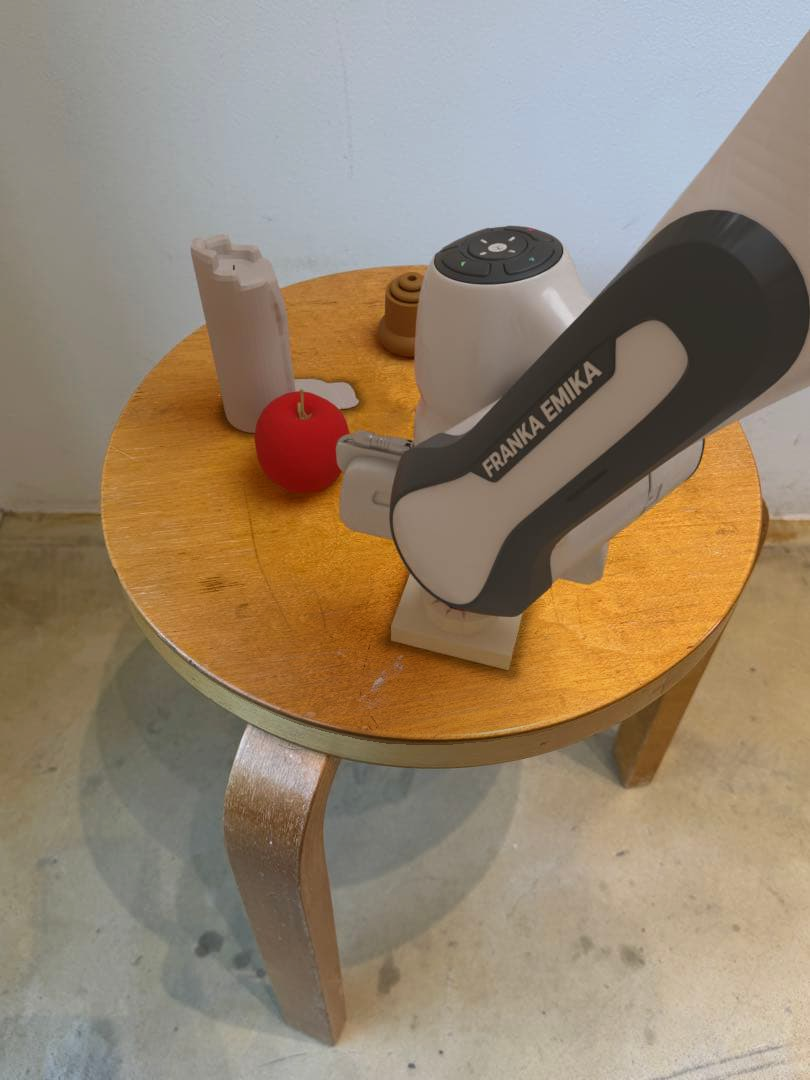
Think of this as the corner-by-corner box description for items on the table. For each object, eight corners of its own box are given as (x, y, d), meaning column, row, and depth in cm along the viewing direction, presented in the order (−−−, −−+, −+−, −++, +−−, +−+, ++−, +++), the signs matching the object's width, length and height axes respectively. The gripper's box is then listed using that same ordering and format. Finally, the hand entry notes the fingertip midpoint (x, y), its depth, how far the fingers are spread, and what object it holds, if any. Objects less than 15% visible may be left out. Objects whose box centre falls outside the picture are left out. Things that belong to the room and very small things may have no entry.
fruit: (371, 480, 82) (368, 402, 75) (293, 523, 79) (281, 446, 71) (318, 428, 87) (309, 349, 79) (241, 467, 83) (225, 388, 76)
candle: (364, 415, 88) (355, 241, 73) (230, 439, 86) (192, 264, 70) (349, 371, 93) (338, 198, 77) (221, 393, 90) (184, 219, 75)
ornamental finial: (454, 330, 97) (427, 368, 93) (395, 312, 99) (366, 349, 95) (458, 268, 91) (429, 306, 87) (395, 251, 93) (364, 287, 89)
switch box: (527, 593, 74) (533, 565, 71) (508, 670, 69) (513, 644, 66) (417, 567, 76) (417, 539, 73) (390, 640, 71) (390, 613, 68)
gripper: (318, 457, 58) (332, 578, 68) (621, 522, 54) (585, 640, 65) (348, 397, 61) (357, 521, 72) (633, 454, 58) (598, 576, 68)
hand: (467, 578), depth 68 cm, fingers closed, pressing on power button
